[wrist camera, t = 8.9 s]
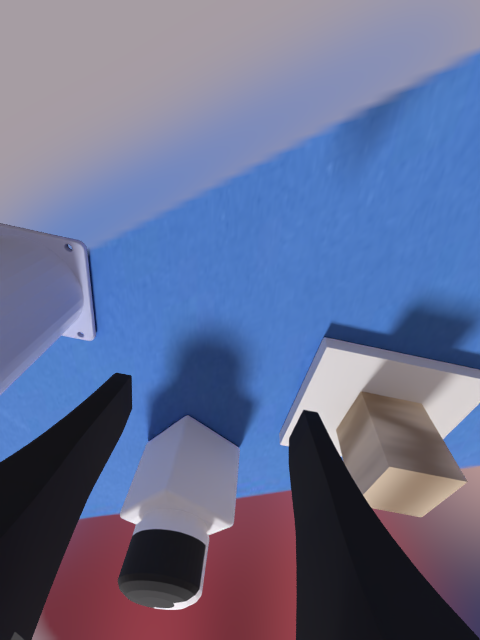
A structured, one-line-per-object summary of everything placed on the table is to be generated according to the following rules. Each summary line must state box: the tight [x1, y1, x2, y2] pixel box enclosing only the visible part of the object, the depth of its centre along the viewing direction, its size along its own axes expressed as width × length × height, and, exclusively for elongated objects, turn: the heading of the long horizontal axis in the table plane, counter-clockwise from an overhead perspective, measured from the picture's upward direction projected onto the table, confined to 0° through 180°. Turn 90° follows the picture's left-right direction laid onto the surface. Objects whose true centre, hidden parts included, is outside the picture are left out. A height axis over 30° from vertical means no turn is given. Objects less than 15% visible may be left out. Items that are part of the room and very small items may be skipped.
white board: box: [279, 337, 480, 456], centre depth 24 cm, size 13×12×1 cm
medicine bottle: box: [118, 415, 240, 610], centre depth 25 cm, size 7×7×12 cm
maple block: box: [336, 391, 467, 517], centre depth 21 cm, size 5×5×6 cm
